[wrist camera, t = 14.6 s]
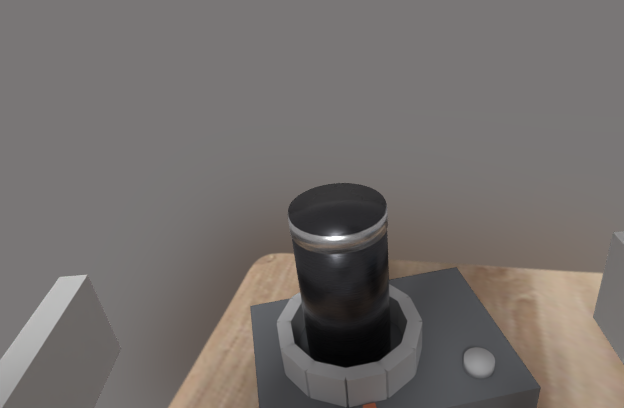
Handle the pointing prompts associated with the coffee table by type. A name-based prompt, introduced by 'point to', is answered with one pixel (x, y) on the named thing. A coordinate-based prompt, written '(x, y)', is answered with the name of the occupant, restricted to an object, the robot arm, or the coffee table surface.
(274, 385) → the camera body
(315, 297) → the lens
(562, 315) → the coffee table surface
